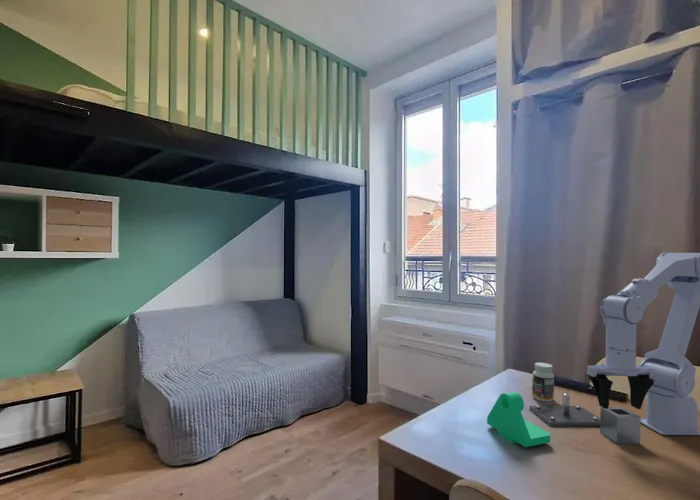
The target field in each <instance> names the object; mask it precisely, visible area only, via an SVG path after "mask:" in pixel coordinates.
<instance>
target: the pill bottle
mask: <svg viewBox="0 0 700 500" xmlns="http://www.w3.org/2000/svg"><path fill="white" fill-rule="evenodd" d="M534 369H535V370H533V372H532V381H531V382H532V386H531V388H532V389H531V396H532V398H533V399H535V400H537V401H539V402H544V403H545V402H547V403H548V402H552V401H554V399H555V375H554V373H553V372H552V371H553V369H554V367H553V365H552V364H550V363H546V362H535V363H534Z"/></svg>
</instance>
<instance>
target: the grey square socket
mask: <svg viewBox="0 0 700 500" xmlns="http://www.w3.org/2000/svg"><path fill="white" fill-rule="evenodd" d="M599 418H600V426H599V428H600V431H599V433H600V434H602V435H603V436H605V437H607V439H609V440H610V441H612V442H614V443H615V444H621V445H623V444H627V445H628V444H629V445H633V444H634V445H638V444H639V445H640V444H641V424H642V423H641V419H642V417H641V416H640V415H638V414H637V413H635V412H632V411H631V410H628V409H627V408H625V407H622V406H611V407H610V406H609V407H608V409H605V408H603V407H601V406H600V417H599Z"/></svg>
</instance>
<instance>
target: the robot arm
mask: <svg viewBox="0 0 700 500" xmlns="http://www.w3.org/2000/svg"><path fill="white" fill-rule="evenodd" d="M665 284H666V285H667V286H668V287H669V288H671V289H673V290H674V291H675V293H674V297H673V299H672V300H673V301H672V303H671V307H670V310H669V314H668V316H667V319H666V323H665V326H664V329H663V333H662V336H661V339H660V341H659V345H658V348H657V349H653V350H650V351H648V352H646V353H645V354H644V357H643V360H642V361H641V362H640V363H639V365H637V363H636V362H637V361H636V360H637V323H639V322H640V321H641V320H642V319H643V316H644V312H645V311H646V309H647V306H648V305H650V304H651V303H652V302H653V301H654V300H655V299H656V298H658V296H659V288H661V287H662V286H664V285H665ZM699 310H700V252H669V251H668V252H667V251H664V252H662V253H661V254H660V255H659V256H657V257H656V261H655V266H654V268H653V269H651V270H650V272H649V273H647V275H645V277H644V278H642V277H641V278H633V279H631V282H630V283H629V284H627V285H626V286H625V287H624V288H623V289H622V290H620V291H619V292H618V293H617V294H615V295H611V294H610V295H608V296H607V297H605V298H604V299H603V300H602V302H601V305H600V307H599V312H600V314H601V317H602V319H603V325H604V327H605V363H603V364H595V365H587V366H586V374H587V377H588V378H589V380H590V382H591V384H592V386H593V388H594V391H595V394H596V396H597V401H598V405H599V406H600V408H601V407H603V408H605V409H608V407H610V393H611V389H612V385H613V383H614V381H613V380H610V379H609V377H611V376H612V377H627V381H628V384H629V393H630V395H629V396H630V397H629V399H630V406H631V407H634V408H635V409H637V410H641V409H642V405H643V404H644V403H643V402H644V400H646V403H645V418H641V423H640V424H642V425H644V426H646V427H647V428H649V429H651V430H653V431H654V432H656V433H658V434H660V435H663V436H700V432H699V431H698V405H697V402H696V400H695V398H694V397H693V396H692V395H691V393H693V391H694V389H695V387H696V379H695V377H696V367H695V366H694V365H693V363H692V362H691V361H690V360H689V359H688V358H687V357H686V353H687V350H688V347H689V343H690V339H691V337H692V333H693V330H694V326H695V323H696V319H697V316H698V313H699ZM645 398H646V399H645Z"/></svg>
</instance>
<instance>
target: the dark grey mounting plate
mask: <svg viewBox="0 0 700 500" xmlns="http://www.w3.org/2000/svg"><path fill="white" fill-rule="evenodd" d="M570 395H571V394H570V393H567V392H563V393H562V405H538V404H536V405H529V411H530V412H532V413H533V414H534V415H536V416H537V417H539V419H541V420H542V421H543V422H544V423H546V424H547V425H548V426H549V427H600V417H599V416H597V415H595V414H593V412H591V411H589V410H587V409H585V408H584V407H583V406H581V405H579V404H578V405H570V401H571V399H570V398H571V397H570Z"/></svg>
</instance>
